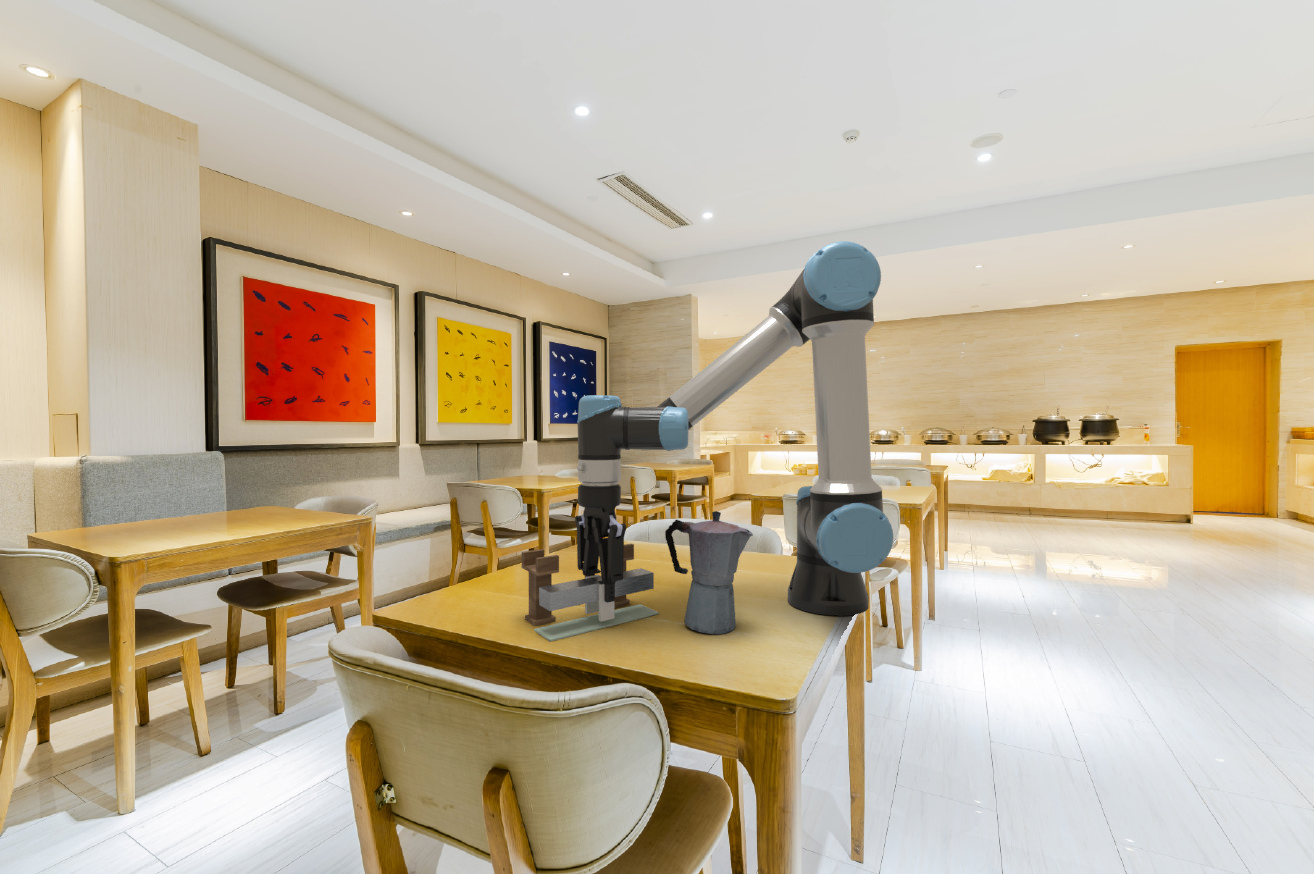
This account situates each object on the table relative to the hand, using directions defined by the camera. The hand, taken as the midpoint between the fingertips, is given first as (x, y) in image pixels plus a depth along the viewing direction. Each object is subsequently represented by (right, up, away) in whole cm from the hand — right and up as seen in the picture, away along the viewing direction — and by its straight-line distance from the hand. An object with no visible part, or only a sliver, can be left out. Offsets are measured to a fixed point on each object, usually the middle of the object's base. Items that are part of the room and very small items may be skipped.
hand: (599, 615), depth 97 cm
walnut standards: (-4, -1, +6) cm, 7 cm away
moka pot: (+19, -1, -2) cm, 19 cm away
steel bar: (0, +3, 0) cm, 3 cm away
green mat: (0, -1, 0) cm, 1 cm away
